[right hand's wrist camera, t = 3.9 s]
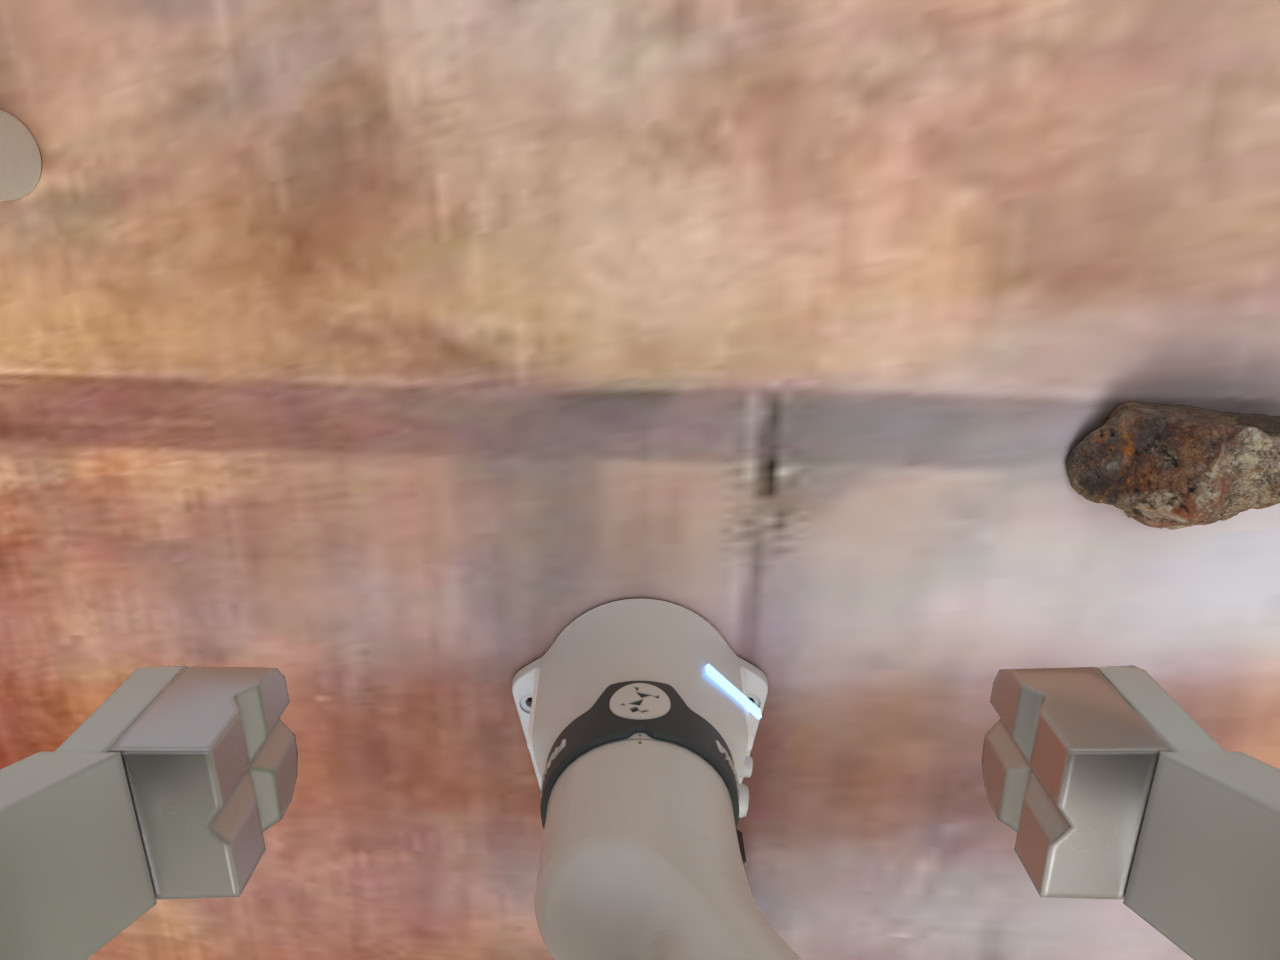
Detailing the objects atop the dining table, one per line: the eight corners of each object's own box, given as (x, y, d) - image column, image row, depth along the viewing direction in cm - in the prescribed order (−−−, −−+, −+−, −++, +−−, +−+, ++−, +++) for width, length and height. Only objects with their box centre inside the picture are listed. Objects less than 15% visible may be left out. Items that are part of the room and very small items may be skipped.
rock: (1096, 359, 58) (1045, 498, 62) (1158, 389, 50) (1095, 547, 53) (1314, 402, 58) (1251, 540, 61) (1412, 440, 50) (1333, 595, 53)
